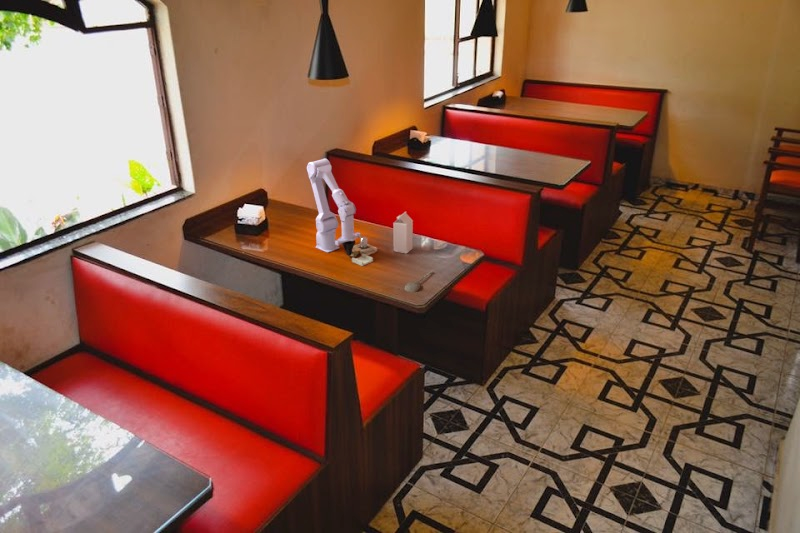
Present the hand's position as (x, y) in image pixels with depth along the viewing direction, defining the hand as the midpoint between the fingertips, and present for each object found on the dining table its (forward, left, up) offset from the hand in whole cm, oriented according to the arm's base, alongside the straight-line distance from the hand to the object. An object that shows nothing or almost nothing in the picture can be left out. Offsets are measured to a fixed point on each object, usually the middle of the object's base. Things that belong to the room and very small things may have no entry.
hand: (348, 254), depth 301 cm
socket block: (0, +10, -1) cm, 10 cm away
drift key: (0, +5, -1) cm, 5 cm away
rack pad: (+9, +1, -1) cm, 9 cm away
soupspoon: (+43, +4, -2) cm, 43 cm away
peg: (0, +10, -1) cm, 10 cm away
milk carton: (+13, +24, -1) cm, 27 cm away
